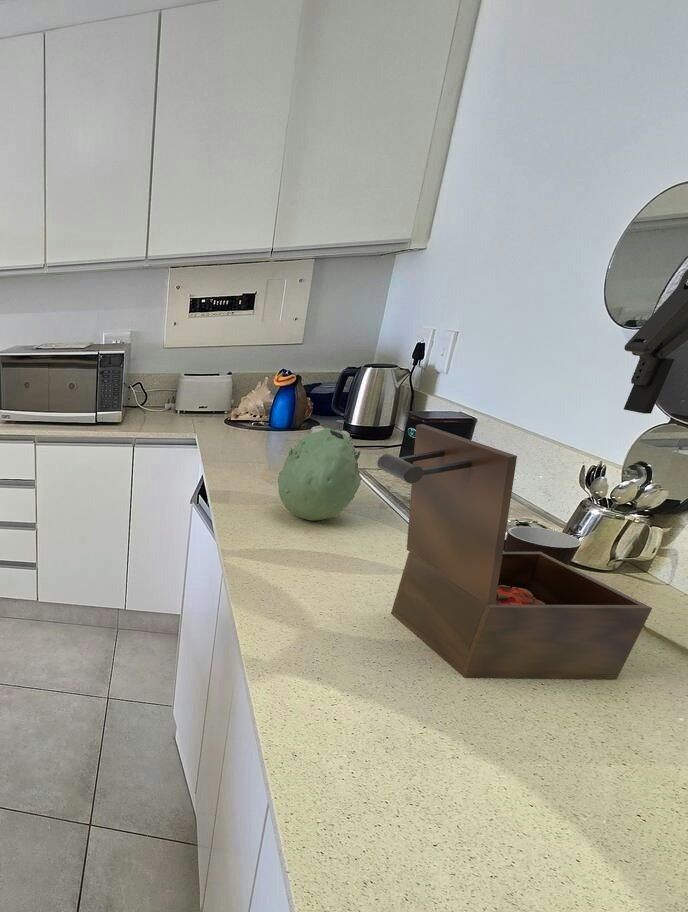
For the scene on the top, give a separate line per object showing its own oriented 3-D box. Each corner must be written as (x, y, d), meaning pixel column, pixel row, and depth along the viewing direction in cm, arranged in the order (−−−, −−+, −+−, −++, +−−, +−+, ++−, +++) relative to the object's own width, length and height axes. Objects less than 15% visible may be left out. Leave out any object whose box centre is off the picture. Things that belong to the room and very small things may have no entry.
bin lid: (422, 423, 80) (356, 436, 81) (517, 455, 65) (434, 470, 66) (412, 548, 87) (351, 558, 89) (495, 603, 72) (420, 614, 74)
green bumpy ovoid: (273, 528, 125) (289, 437, 117) (270, 500, 140) (284, 418, 132) (358, 537, 118) (381, 442, 111) (344, 507, 134) (364, 421, 126)
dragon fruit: (502, 630, 88) (492, 676, 81) (454, 589, 90) (440, 631, 82) (565, 604, 81) (560, 652, 74) (511, 561, 83) (501, 604, 76)
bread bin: (516, 613, 90) (540, 551, 86) (616, 679, 75) (652, 608, 71) (390, 613, 92) (408, 552, 88) (464, 677, 77) (490, 607, 72)
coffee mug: (570, 597, 94) (593, 541, 90) (538, 608, 91) (561, 551, 87) (488, 568, 104) (506, 517, 100) (457, 578, 101) (475, 526, 97)
